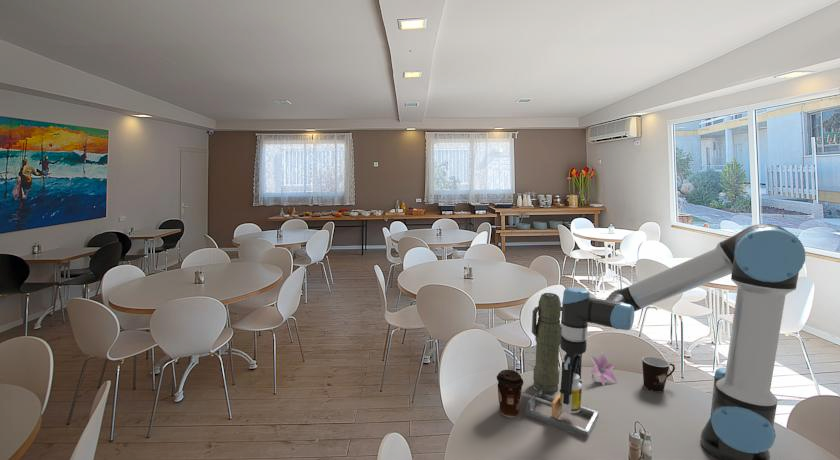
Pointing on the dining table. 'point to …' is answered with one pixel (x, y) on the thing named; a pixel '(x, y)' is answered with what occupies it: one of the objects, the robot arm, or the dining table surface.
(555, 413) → the pusher
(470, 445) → the dining table surface
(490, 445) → the dining table surface
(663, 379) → the coffee mug
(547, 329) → the thermos
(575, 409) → the pill bottle
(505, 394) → the coffee cup
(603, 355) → the lily
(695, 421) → the dining table surface
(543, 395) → the lane
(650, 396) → the dining table surface
